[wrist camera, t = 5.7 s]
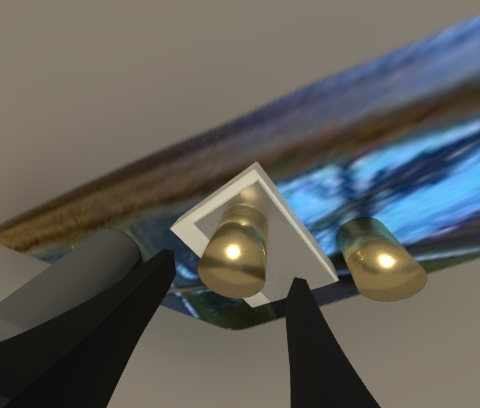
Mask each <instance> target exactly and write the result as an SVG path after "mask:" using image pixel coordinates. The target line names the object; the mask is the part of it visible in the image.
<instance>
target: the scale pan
mask: <svg viewBox="0 0 480 408" xmlns="http://www.w3.org/2000/svg"><path fill="white" fill-rule="evenodd" d="M237 205H247V206H251V207H254V208H256V209H257V210H259V211H260V212H261V213H262V214H263V215H264V216H265V217H266V219H267V221H268V226H269V230H268V246H267V262H266V278H265V285H264V287H263V289H262V290H261V291H260V292H261V293H262V294H263V295H264V296H265V297H266V298H267V299H268V300H269V301H270V302H274V301H277V300H280V299H283V298H287V295H288V293H289V290H290V287H291V285H292V282H293V279H294V277H297V278H302V279H306V281H307V283H308V285H309V287H310V290H312V289H315V288H319V287H322V286H325V285H328V284H331V283H334V282H335V280H334V277H333V276H332V274H331V273H330V272H329V270H328V269H327V268H326V266H325V265H324V264H323V263H322V261H321V260H320V259H319V257H318V256H317V255H316V253H315V252H314V251H313V249H312V248H311V247H310V246H309V244H308V243H307V242H306V240H305V239H304V238H303V236H302V235H301V234H300V232H299V231H298V230H297V229H296V227H295V226H294V225H293V223H292V222H291V221H290V219H289V218H288V217H287V215H286V214H285V213H284V211H283V210H282V209H281V208H280V206H279V205H278V204H277V202H276V201H275V200H274V198H273V197H272V196H271V194H270V193H269V192H268V191H267V189H266V188H265V187H264V185H263V184H262V183H261V181H260V180H259V179H258V178H257V179H256V180H254V181H253V182H251V183H250V184H248V185H247V186H245V187H244V188H242V189H241V190H239V191H238V192H237V193H235V194H234V195H232V196H231V197H229V198H228V199H226V200H225V201H223V202H222V203H220V204H219V205H217V206H216V207H214V208H213V209H211V210H210V211H208V212H207V213H205V214H204V215H203V216H201V217H200V218H198V219H197V220H196V221H195V222H194V225H195V226H196V227H197V228H198V229H199V230H200V231H201V232H202V233H203V234H204V235H205V236H206V237H207V238H208V239H209V240H210V239H211V237H212V235H213V233H214V231H215V229H216V227H217V225H218V223H219V221H220V219H221V217H222V215H223V213H224V212H225V211H226V210H227V209H229V208H231V207H233V206H237Z"/></svg>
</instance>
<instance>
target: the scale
mask: <svg viewBox="0 0 480 408" xmlns="http://www.w3.org/2000/svg"><path fill="white" fill-rule="evenodd" d="M257 178H258V179H259V180H260V181H261V183H262V184H263V185H264V187H265V188H266V189H267V191H268V192H269V193H270V194H271V196H272V197H273V198H274V200H275V201H276V202H277V204H278V205H279V206H280V208H281V209H282V210H283V211H284V213H285V214H286V215H287V217H288V218H289V219H290V221H291V222H292V223H293V225H294V226H295V227H296V229H297V230H298V231H299V232H300V234H301V235H302V236H303V238H304V239H305V240H306V242H307V243H308V244H309V246H310V247H311V248H312V249H313V251H314V252H315V253H316V255H317V256H318V257H319V259H320V260H321V261H322V263H323V264H324V265H325V266H326V268H327V269H328V270H329V272H330V273H331V274H332V276H333V277H334V280H335V282H336V281H339V279H338V276H337V274H336V271H335V268H334V265H333V263H332V262H331V260H330V259H329V258H328V256H327V255H326V254H325V252H324V251H323V250H322V248H321V247H320V246H319V244H318V243H317V242H316V240H315V239H314V238H313V236H312V235H311V233H310V232H309V231H308V229H307V228H306V227H305V225H304V224H303V223H302V221H301V220H300V219H299V217H298V216H297V215H296V213H295V212H294V211H293V209H292V208H291V206H290V205H289V204H288V202H287V201H286V200H285V198H284V197H283V196H282V194H281V193H280V192H279V190H278V189H277V188H276V186H275V185H274V184H273V182H272V181H271V179H270V178H269V177H268V175H267V174H266V173H265V171H264V170H263V169H262V167H261V166H260V165H259V163H258V162H255V163H254V164H253V165H251V166H250V167H248V168H247V169H246V170H244V171H243V172H242V173H240V174H239V175H237V176H236V177H235V178H233V179H232V180H230V181H229V182H228V183H226V184H225V185H224V186H222V187H221V188H219V189H218V190H217V191H215V192H214V193H213V194H211V195H210V196H208V197H207V198H206V199H204V200H203V201H202V202H200V203H199V204H197V205H196V206H195V207H193V208H192V209H191V210H189V211H188V212H186V213H185V214H184V215H182V216H181V217H180V218H179V219H178V220H177V221H176V222H175V223H174V225H173V226H172V227H171V228H170V229H171V230H172V231H173V232H174V233H175V234H176V235H177V236H178V237H179V238H180V239H181V240H182V241H183V242H184V243H186V244H187V245H188V246H189V247H190V248H191V249H192V250H193V251H194V252H195V253H196V254H197V255H198V256H199V257H200V258H201V257H202V255H203V253H204V251H205V249H206V247H207V245H208V243H209V241H210V240H209V239H208V238H207V237H206V236H205V235H204V234H203V233H202V232H201V231H200V230H199V229H198V228H197V227H196V226H195V225H194V222H195V221H196V220H197V219H198V218H200V217H201V216H203V215H204V214H205V213H207V212H208V211H210V210H211V209H213V208H214V207H216V206H217V205H219V204H220V203H222V202H223V201H225V200H226V199H228V198H229V197H231V196H232V195H234V194H235V193H237V192H238V191H239V190H241V189H242V188H244V187H245V186H247V185H248V184H250V183H251V182H253V181H254V180H256V179H257ZM243 299H244V300H245V301H246V302H247V303H248V304H249V305H250V306H251V307H252V308H253V307H256V306H259V305H263V304H266V303H269V302H270V301H269V300H268V299H267V298H266V297H265V296H264V295H263V294H262V293H261V292H259V293H257V294H256V295H254V296H252V297H248V298H243Z"/></svg>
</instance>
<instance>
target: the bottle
mask: <svg viewBox="0 0 480 408" xmlns="http://www.w3.org/2000/svg"><path fill="white" fill-rule="evenodd" d="M139 257H140V252H139V249H138V247H137V245H136V244H135V242H134V241H133V240H132V239H131V238H130V237H129V236H127V235H126V234H124V233H122V232H120V231H118V230H114V229H103V230H101V231H99V232H97V233H96V234H95V235H93V236H92V237H90V238H89V239H87V240H86V241H85V242H83V243H82V244H80V245H79V246H78V247H76V248H75V249H73V250H72V251H71V252H69V253H68V254H66V255H65V256H64V257H62V258H61V259H59V260H58V261H57V262H55V263H54V264H52V265H51V266H50V267H48V268H47V269H45V270H44V271H43V272H42V273H40V274H38V275H37V276H36V277H34V278H33V279H31V280H30V281H29V282H27V283H26V284H25V285H23V286H22V287H20V288H19V289H18V290H16V291H15V292H13V293H12V294H11V295H9V296H8V297H7V298H5V299H4V300H2V301H1V302H0V342H1V341H4V340H6V339H8V338H11V337H13V336H15V335H18V334H20V333H22V332H25V331H27V330H29V329H31V328H33V327H36V326H38V325H40V324H42V323H44V322H46V321H48V320H51V319H53V318H55V317H57V316H59V315H61V314H62V313H64V312H66V311H68V310H70V309H72V308H74V307H76V306H78V305H80V304H82V303H83V302H85V301H87V300H89V299H91V298H92V297H94V296H96V295H97V294H99V293H101V292H102V291H104V290H106V289H107V288H109V287H111V286H112V285H114V284H115V283H117V282H118V281H120V280H121V279H123V278H124V276H125V275H126V274H127V273H128V272H129V271H130V269H131V268H132V267H133V266H134V265H135V264H136V262H137V261H138V260H139Z"/></svg>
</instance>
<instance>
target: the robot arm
mask: <svg viewBox="0 0 480 408" xmlns="http://www.w3.org/2000/svg"><path fill="white" fill-rule="evenodd" d="M175 275H176V269H175V259H174V251H172V250H167V249H163V250H162V251H160V252H159V253H158V254H156V255H155V256H154V257H152V258H151V259H150V260H148V261H147V262H145V263H144V264H143V265H141V266H140V267H139V268H137V269H136V270H134V271H133V272H131V273H130V274H129V275H127V276H126V277H124V278H123V279H121V280H120V281H118V282H117V283H115V284H114V285H112V286H111V287H109V288H107V289H106V290H104V291H102V292H101V293H99V294H97V295H96V296H94V297H92V298H91V299H89V300H87V301H85V302H83V303H82V304H80V305H78V306H76V307H74V308H72V309H70V310H68V311H66V312H64V313H62V314H61V315H59V316H57V317H55V318H53V319H51V320H48V321H46V322H44V323H42V324H40V325H38V326H36V327H33V328H31V329H29V330H27V331H25V332H22V333H20V334H18V335H15V336H13V337H11V338H8V339H6V340H4V341H1V342H0V408H106V407H107V405H108V403H109V401H110V398H111V396H112V394H113V392H114V390H115V388H116V385H117V383H118V381H119V379H120V377H121V375H122V372H123V371H124V369H125V367H126V364H127V362H128V360H129V358H130V356H131V354H132V352H133V350H134V348H135V346H136V344H137V342H138V340H139V338H140V337H141V335H142V333H143V331H144V330H145V328H146V326H147V325H148V323H149V321H150V320H151V318H152V316H153V315H154V313H155V312H156V310H157V308H158V307H159V305H160V303H161V302H162V300H163V298H164V297H165V295H166V293H167V292H168V290H169V288H170V286H171V284H172V282H173V279H174V277H175ZM286 329H287V341H288V352H289V363H290V383H291V384H290V387H291V408H381V407H380V406H379V405H378V403H377V402H376V400H375V399H374V398H373V396H372V395H371V394H370V392H369V391H368V389H367V388H366V386H365V385H364V383H363V382H362V380H361V379H360V377H359V376H358V374H357V373H356V371H355V370H354V368H353V367H352V365H351V364H350V362H349V361H348V359H347V357H346V356H345V354H344V352H343V351H342V349H341V347H340V346H339V344H338V342H337V341H336V339H335V337H334V335H333V333H332V332H331V330H330V328H329V326H328V324H327V322H326V320H325V318H324V317H323V315H322V313H321V311H320V309H319V307H318V305H317V303H316V300H315V298H314V296H313V294H312V292H311V290H310V287H309V285H308V283H307V281H306V279H302V278H297V277H294V279H293V282H292V285H291V287H290V290H289V293H288V295H287V298H286Z"/></svg>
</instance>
